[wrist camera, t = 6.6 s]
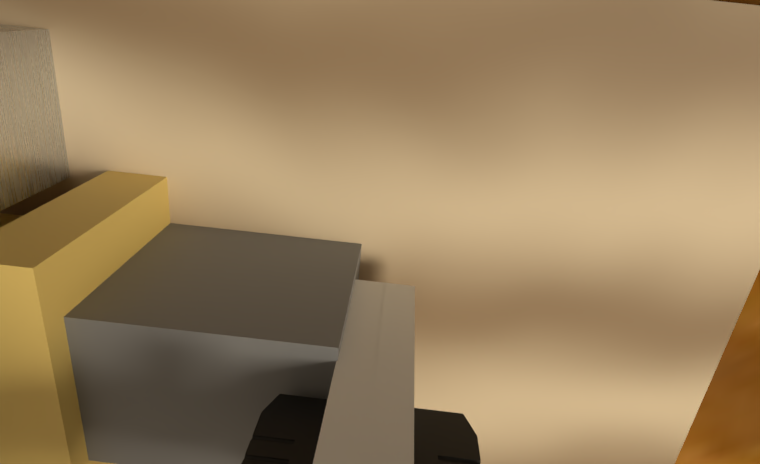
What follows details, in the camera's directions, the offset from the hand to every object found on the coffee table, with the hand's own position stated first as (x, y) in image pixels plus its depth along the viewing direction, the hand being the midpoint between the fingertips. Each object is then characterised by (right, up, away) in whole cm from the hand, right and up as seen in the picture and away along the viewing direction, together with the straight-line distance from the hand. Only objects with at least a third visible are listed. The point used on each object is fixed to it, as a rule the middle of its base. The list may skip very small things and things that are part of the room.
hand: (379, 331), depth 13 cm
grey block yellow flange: (-8, +1, +2) cm, 8 cm away
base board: (-3, +2, +2) cm, 4 cm away
